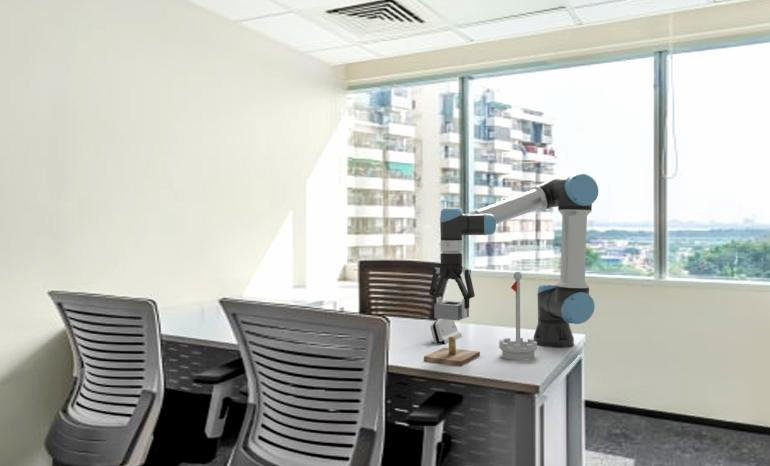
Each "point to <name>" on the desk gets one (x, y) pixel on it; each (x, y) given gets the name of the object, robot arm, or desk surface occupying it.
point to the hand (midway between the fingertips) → (451, 316)
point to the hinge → (444, 330)
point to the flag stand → (517, 334)
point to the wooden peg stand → (452, 355)
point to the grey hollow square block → (449, 310)
